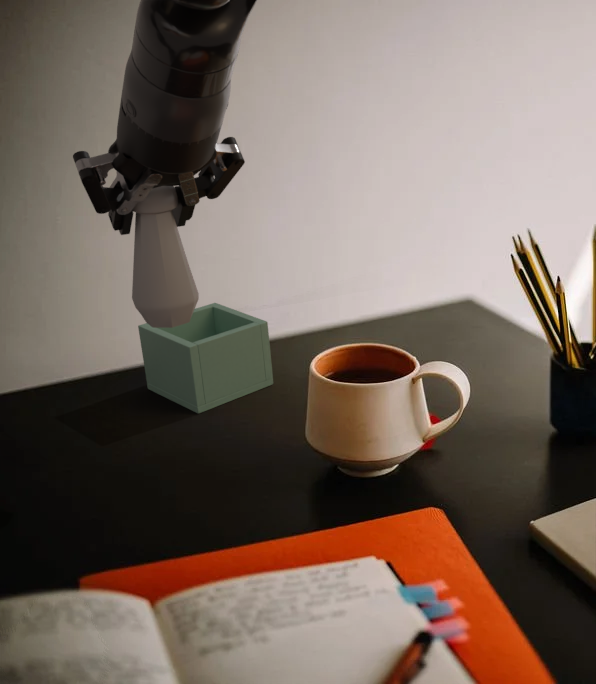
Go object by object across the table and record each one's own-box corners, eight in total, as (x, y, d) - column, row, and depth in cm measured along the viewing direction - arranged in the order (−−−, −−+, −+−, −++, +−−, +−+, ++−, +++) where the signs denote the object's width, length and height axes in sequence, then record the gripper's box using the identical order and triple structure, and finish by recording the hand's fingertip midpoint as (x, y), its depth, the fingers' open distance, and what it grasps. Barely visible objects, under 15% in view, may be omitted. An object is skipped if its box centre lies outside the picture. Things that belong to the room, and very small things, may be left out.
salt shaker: (148, 336, 81) (126, 193, 77) (127, 318, 85) (105, 182, 81) (211, 322, 85) (194, 184, 80) (188, 306, 89) (170, 174, 84)
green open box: (198, 414, 98) (189, 347, 95) (147, 389, 104) (137, 325, 101) (273, 384, 105) (267, 321, 102) (222, 362, 111) (215, 302, 108)
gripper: (247, 58, 75) (212, 180, 88) (61, 67, 67) (53, 198, 80) (279, 132, 73) (238, 244, 86) (91, 149, 65) (78, 270, 78)
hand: (149, 221), depth 83 cm, fingers closed on salt shaker, 4 cm apart
